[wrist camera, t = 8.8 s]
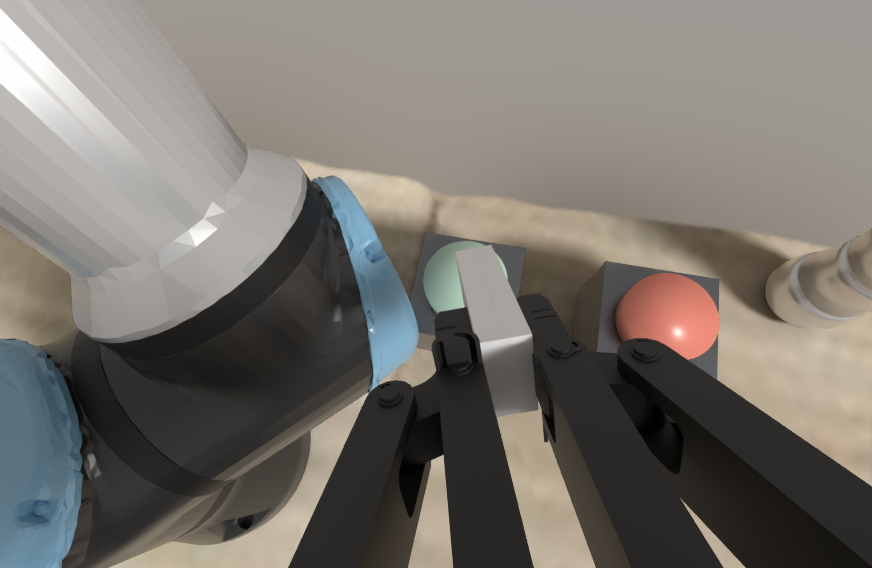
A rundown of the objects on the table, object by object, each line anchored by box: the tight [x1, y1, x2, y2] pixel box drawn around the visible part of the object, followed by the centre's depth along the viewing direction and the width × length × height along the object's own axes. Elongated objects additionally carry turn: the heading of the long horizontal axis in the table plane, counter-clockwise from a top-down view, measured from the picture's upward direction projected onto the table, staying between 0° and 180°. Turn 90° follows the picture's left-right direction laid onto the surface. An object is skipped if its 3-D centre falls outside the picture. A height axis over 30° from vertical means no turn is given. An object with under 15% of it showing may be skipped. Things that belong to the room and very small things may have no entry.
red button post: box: [573, 261, 719, 380], centre depth 35 cm, size 8×8×9 cm
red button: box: [615, 273, 719, 360], centre depth 33 cm, size 6×6×10 cm
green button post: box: [410, 232, 526, 351], centre depth 37 cm, size 8×8×9 cm
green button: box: [423, 241, 508, 315], centre depth 35 cm, size 6×6×10 cm
